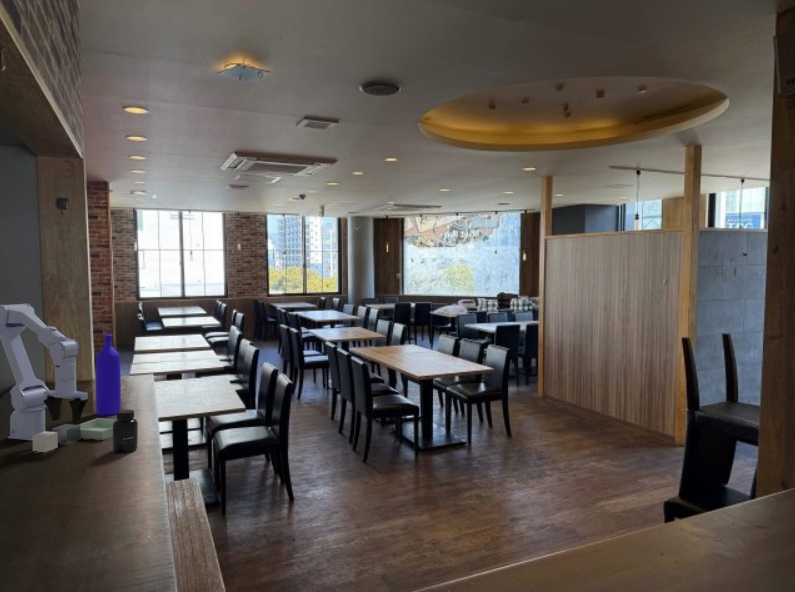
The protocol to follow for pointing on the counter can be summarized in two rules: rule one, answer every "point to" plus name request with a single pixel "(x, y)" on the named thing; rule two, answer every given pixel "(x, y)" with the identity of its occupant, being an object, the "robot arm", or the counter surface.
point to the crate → (97, 429)
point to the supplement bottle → (125, 432)
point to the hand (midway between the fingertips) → (66, 420)
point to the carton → (45, 441)
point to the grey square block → (67, 433)
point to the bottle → (108, 380)
